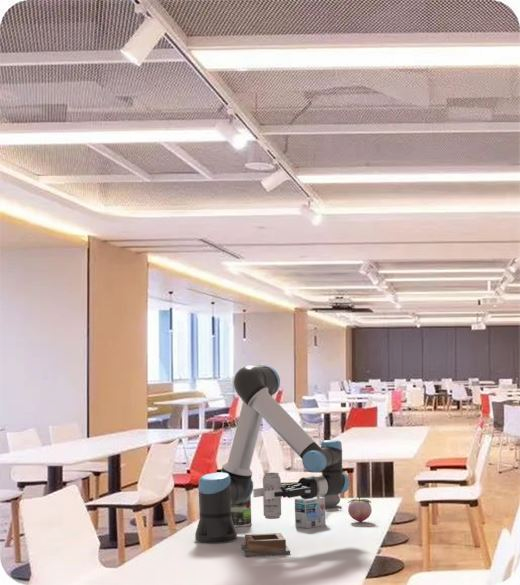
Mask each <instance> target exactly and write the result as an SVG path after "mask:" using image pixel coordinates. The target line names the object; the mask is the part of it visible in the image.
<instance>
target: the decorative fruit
mask: <svg viewBox="0 0 520 585" xmlns="http://www.w3.org/2000/svg"><path fill="white" fill-rule="evenodd" d="M347 504H348V509H347V511H348V512H347V513H348V515H349V516H350V517H351V519H353V520H354V521H356V522H358V523H363V522H364V521H366V520H367V519H369V518H370V516H371V514H372V511H373V510H372V506H371V504H372V501H371V500H369V499H367V498H362V499H361V497H360V496H358V498H354V499H351V500H349V501H348V502H347Z"/></svg>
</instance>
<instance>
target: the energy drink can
mask: <svg viewBox="0 0 520 585" xmlns="http://www.w3.org/2000/svg"><path fill="white" fill-rule="evenodd" d="M262 488H263V496H262V497H263V498H262V499H263V502H262V504H263V516H264V517H265V519H267V520H276V519H277V520H278V519H280V518H281V517H280V516H281V515H282V497H281V498H274V499H267V500H266V499H265V491H270V490H278V489H281V477H280V475H279V473H278V472H265V473H264V475H263V478H262Z"/></svg>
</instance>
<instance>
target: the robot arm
mask: <svg viewBox="0 0 520 585" xmlns="http://www.w3.org/2000/svg"><path fill="white" fill-rule="evenodd" d="M280 378H281V377H280V375H279V373H278V372H277V371H276V369H274V368H273V367H272V366H270V365H265V364H258V365H245V366H243V367H241V368H240V369H239V370H238V371H237V372H236V373H235V375H234V378H233V387H234V390H235V392H236V394H237V396H239V398H240V399H241V401H242V405H241V409H240V412H239V417H238V419H237V420H238V421H237V423H236V429H235V432H234V436H233V440H232V444H231V447H230V453H229V455H228V461H227V462H226V463H225V464H223V465H222V467H221V471H220V472H212V473H207V474H204V475H202V476H201V477H200V478H199V479H198V487H197V490H198V504H199V505H198V507H199V510H198V511H199V520H198V523H197V527H196V530H195V534H194V539H195V542H199V543H203V544H221V543H222V544H223V543H228V542H234V541H235V540H237V538H238V536H237V535H238V534H237V530H236V527H235V526H234V524H233V521H232V517H231V506H232V505H235V504H240V503H242V502H244V501H245V500H247V499H248V498H249V497H250V495H251V496H252V494H253V498H260V497H263V487H260V488H254V481H253V480H252V477H253V471H252V470H251V465H252V461H253V456H254V452H255V448H256V445H257V440H258V437H259V433H260V429H261V424H262V422H263V420H265V422H267V424H268V425H269V426H270V427H271V428H272V429H273V430H274V432H276V433H277V435H278V436H280V437H281V439H282V440H283V441H284V442H285V444H287V445H288V446H289V447H290V448H291V449H292V450H293V451H294V453H296V454H297V456H298V457H299V458H301V461H302V466H303V468H304V469H305V470H306V471H308V472H309V473H320V472H321V474H317V475H311V476H303V477H300V479H299V480H298V481H297V482H292V483H287V482H286V483H282V484H281V489H278V490H270V491H265V499H266V500H267V499H274V498H281V499H282V498H288V499H290V498H291V499H292V498H295V497H296V498H297V497H300V498H303V499H309V498H315V497H317V499H319V498H320V497H322V496H329V495H340V494H344V493H346V492H347V491H349V488H350V483H351V482H350V479H349V476H348V475H347V473H345V472H343V445H342V441H340V440H338V439H337V440H336V439H326V440H322V441H321V442H320V446H319V444H318V443H317V442H316V441H315V440H314V439H313V438H312V437H311V436H310V435H309V434H308V432H306V431H305V430H304V429H303V427H302V426H300V425H299V423H297V421H296V420H295V419H294V418H293V417H292V416H291V415H290V414H289V412H287V411H286V410H285V408H283V407H282V406H281V405H280V404H279V402H278V401H277V400H276V399H275V398H274V397H273V395H276V394H277V392H278V391H279V389H280V386H281V379H280Z"/></svg>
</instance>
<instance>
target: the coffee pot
mask: <svg viewBox="0 0 520 585" xmlns="http://www.w3.org/2000/svg"><path fill="white" fill-rule="evenodd" d="M339 495H340V494H338V495H329V496H322V497H325V509H328V508H329V509H330V508H335V507H337V505H339V504H340V502H341V497H340V496H339Z"/></svg>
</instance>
